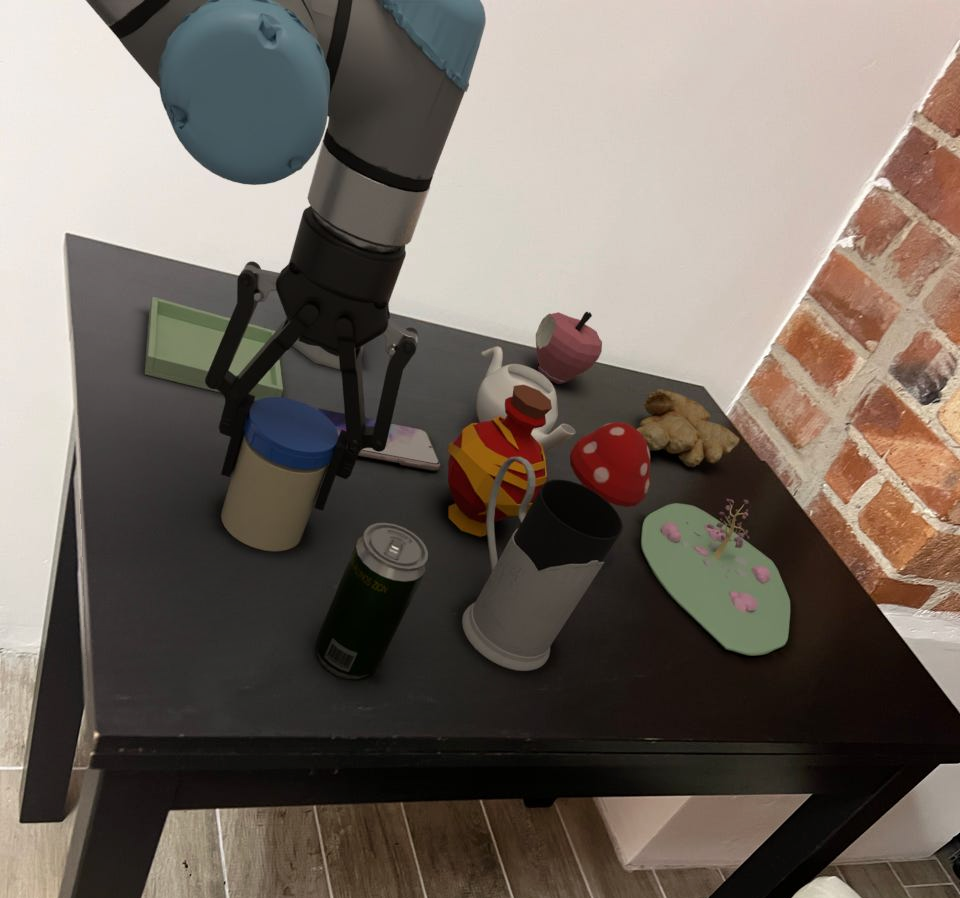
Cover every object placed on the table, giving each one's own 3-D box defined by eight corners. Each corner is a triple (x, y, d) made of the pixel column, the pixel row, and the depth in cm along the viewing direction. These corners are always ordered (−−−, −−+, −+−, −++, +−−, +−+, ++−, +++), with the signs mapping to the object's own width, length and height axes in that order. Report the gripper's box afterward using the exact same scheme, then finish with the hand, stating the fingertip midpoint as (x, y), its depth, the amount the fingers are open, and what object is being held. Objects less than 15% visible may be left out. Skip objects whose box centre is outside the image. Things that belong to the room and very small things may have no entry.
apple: (519, 351, 130) (549, 287, 124) (572, 370, 133) (604, 308, 127) (528, 385, 123) (561, 319, 117) (584, 404, 126) (619, 341, 120)
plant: (834, 672, 102) (888, 616, 97) (687, 648, 94) (737, 585, 88) (746, 530, 119) (788, 476, 113) (614, 499, 110) (652, 438, 105)
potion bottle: (410, 483, 94) (465, 357, 85) (493, 492, 100) (554, 374, 91) (445, 552, 88) (509, 424, 79) (531, 557, 94) (600, 438, 85)
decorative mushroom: (523, 507, 100) (585, 391, 91) (591, 527, 103) (659, 417, 94) (535, 564, 93) (604, 445, 84) (608, 585, 96) (683, 472, 87)
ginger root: (707, 424, 136) (739, 385, 130) (716, 502, 127) (750, 465, 121) (614, 390, 132) (641, 348, 125) (616, 469, 123) (646, 428, 117)
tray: (144, 374, 89) (148, 355, 88) (148, 314, 97) (152, 296, 96) (278, 407, 94) (283, 389, 93) (271, 347, 102) (276, 331, 101)
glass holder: (493, 677, 78) (572, 547, 69) (417, 564, 85) (480, 433, 76) (566, 663, 84) (648, 541, 74) (489, 559, 90) (556, 435, 81)
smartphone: (296, 402, 95) (426, 429, 102) (293, 410, 95) (424, 436, 102) (307, 441, 90) (443, 466, 97) (304, 449, 91) (439, 473, 98)
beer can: (368, 692, 71) (422, 581, 64) (304, 664, 70) (351, 549, 63) (385, 649, 75) (437, 541, 68) (324, 623, 74) (371, 510, 67)
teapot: (494, 400, 116) (525, 336, 110) (567, 502, 105) (605, 436, 99) (430, 392, 110) (459, 323, 105) (500, 498, 99) (536, 428, 94)
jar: (221, 543, 76) (249, 447, 70) (220, 490, 81) (246, 396, 75) (305, 557, 79) (339, 467, 73) (299, 506, 84) (330, 417, 78)
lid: (324, 481, 73) (330, 463, 72) (234, 447, 71) (239, 428, 70) (338, 436, 78) (344, 419, 77) (255, 404, 77) (260, 385, 75)
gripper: (492, 265, 68) (392, 501, 83) (227, 147, 64) (169, 419, 78) (490, 304, 63) (383, 549, 77) (199, 178, 58) (142, 464, 72)
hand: (275, 484), depth 77 cm, fingers closed on lid, 7 cm apart
